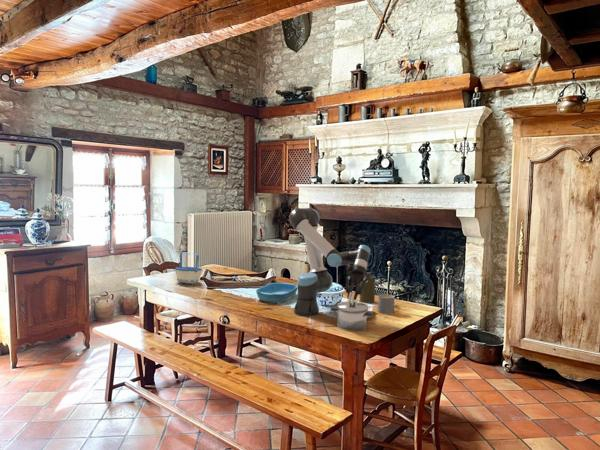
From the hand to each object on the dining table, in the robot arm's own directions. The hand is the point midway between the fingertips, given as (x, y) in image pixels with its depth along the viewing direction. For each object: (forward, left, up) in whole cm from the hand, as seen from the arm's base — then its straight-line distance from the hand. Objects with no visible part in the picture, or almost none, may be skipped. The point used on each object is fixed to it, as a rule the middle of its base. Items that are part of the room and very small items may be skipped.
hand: (350, 303), depth 226 cm
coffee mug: (+11, +46, -14) cm, 49 cm away
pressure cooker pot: (0, +5, -14) cm, 14 cm away
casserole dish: (-64, +44, -14) cm, 79 cm away
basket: (-146, +52, -14) cm, 156 cm away
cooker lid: (0, +5, -4) cm, 6 cm away
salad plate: (-5, +30, -14) cm, 34 cm away
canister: (-6, +65, -14) cm, 67 cm away
